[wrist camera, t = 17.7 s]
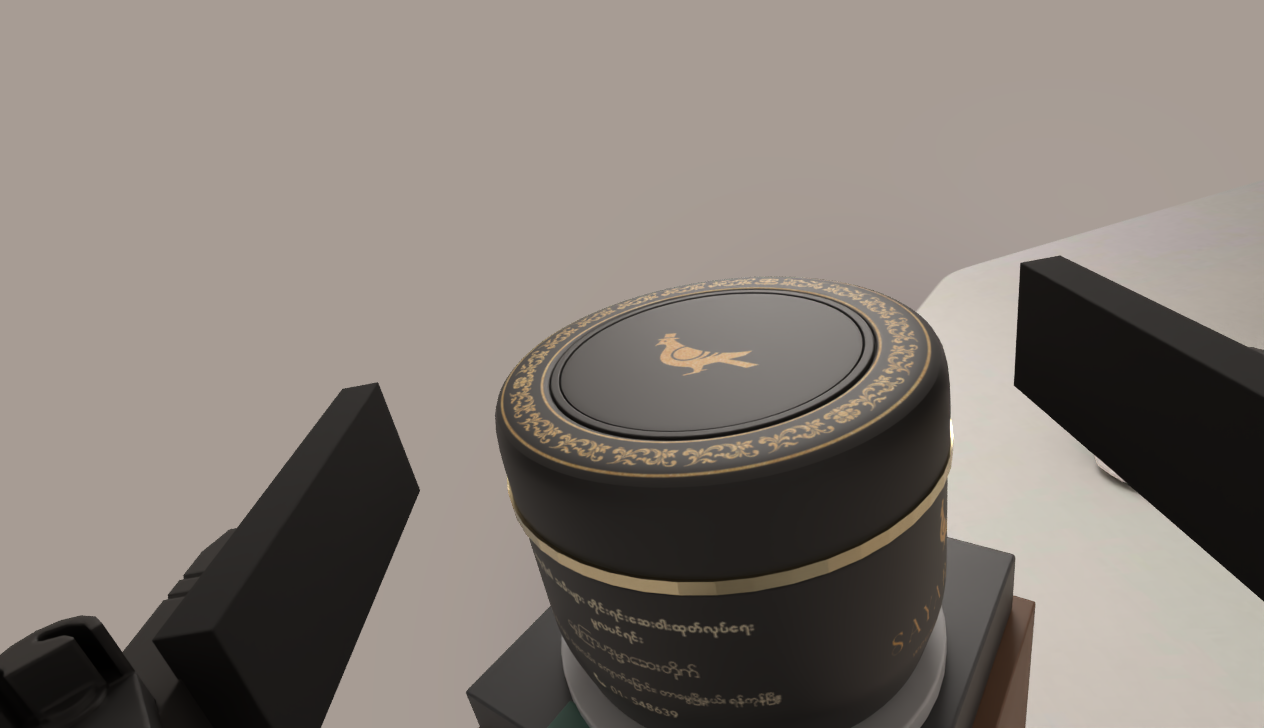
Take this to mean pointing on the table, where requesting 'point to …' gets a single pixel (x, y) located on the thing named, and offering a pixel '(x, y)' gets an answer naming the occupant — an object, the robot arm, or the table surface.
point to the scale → (907, 724)
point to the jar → (738, 498)
